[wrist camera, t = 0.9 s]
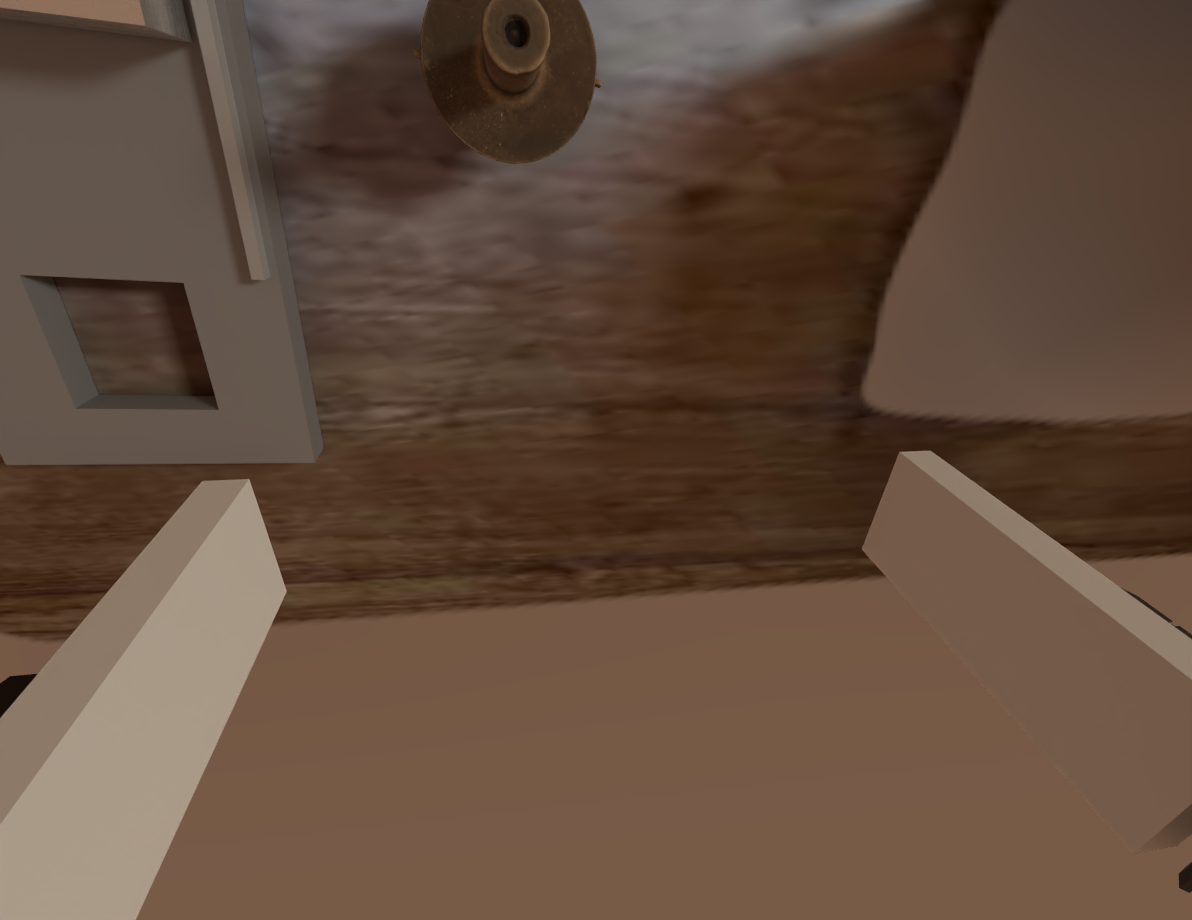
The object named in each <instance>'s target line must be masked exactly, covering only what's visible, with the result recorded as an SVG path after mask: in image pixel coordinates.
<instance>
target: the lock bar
mask: <svg viewBox="0 0 1192 920" xmlns="http://www.w3.org/2000/svg"><path fill="white" fill-rule="evenodd" d="M0 19H4V20H12V21H20V22H28V23H36V24H45V25H53V26H61V27H69V28H77V29H86V30H94V31H102V32H110V33H118V34H126V35H135V36H143V37H151V38H159V39H167V40H175V41H184V42H192V41H191V37H190V32H189V28H188V23H187V19H186V15H185V10H184V6H183V1H182V0H0Z"/></svg>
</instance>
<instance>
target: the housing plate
mask: <svg viewBox="0 0 1192 920" xmlns="http://www.w3.org/2000/svg"><path fill="white" fill-rule="evenodd" d="M182 1H183V6H184V10H185V15H186V19H187V23H188V28H189V32H190V37H191V41H192V42H184V41H175V40H167V39H159V38H151V37H143V36H135V35H126V34H118V33H110V32H102V31H94V30H86V29H77V28H69V27H61V26H53V25H45V24H36V23H28V22H20V21H12V20H4V19H0V454H1V456H2V458H3V460H4V462H5V464H6V465H94V464H224V463H315V462H316V460H317V458H318V457H319V455H320V453H321V451H322V450H323V448H324V446H323V441H322V435H321V430H320V425H319V419H318V414H317V408H316V403H315V397H314V392H313V386H312V381H311V375H310V370H309V364H308V359H307V353H306V348H305V342H304V337H303V331H302V326H301V320H300V315H299V309H298V304H297V299H296V293H295V288H294V282H293V277H292V271H291V266H290V260H289V255H288V249H287V244H286V238H285V233H284V227H283V222H282V216H281V211H280V205H279V200H278V194H277V189H276V184H275V178H274V173H273V167H272V162H271V156H270V151H269V145H268V140H267V134H266V129H265V123H264V118H263V112H262V107H261V101H260V96H259V90H258V85H257V79H256V74H255V68H254V63H253V58H252V52H251V47H250V41H249V36H248V30H247V25H246V19H245V14H244V8H243V3H242V0H182ZM53 277H73V278H94V279H115V280H135V281H156V282H177V283H184V287H185V290H186V294H187V297H188V301H189V305H190V308H191V312H192V315H193V319H194V323H195V326H196V330H197V333H198V337H199V340H200V344H201V348H202V351H203V355H204V358H205V362H206V365H207V369H208V373H209V376H210V380H211V383H212V387H213V391H214V394H215V396H182V395H107V394H98V392H97V389H96V386H95V384H94V381H93V379H92V376H91V374H90V371H89V369H88V366H87V363H86V361H85V358H84V356H83V353H82V351H81V348H80V346H79V343H78V341H77V338H76V335H75V333H74V330H73V328H72V325H71V323H70V320H69V318H68V315H67V312H66V310H65V307H64V305H63V302H62V300H61V297H60V295H59V292H58V289H57V287H56V284H55V282H54V279H53Z"/></svg>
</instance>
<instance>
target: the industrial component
mask: <svg viewBox="0 0 1192 920" xmlns="http://www.w3.org/2000/svg"><path fill="white" fill-rule="evenodd" d="M413 51H414V55H415V56H416V57H418V58H419V59H421V62H422V68H423V73H424V77H425V81H426V84H427V87H428V90H429V93H430V96H431V98H432V100H433V102H434V104H435V106H436V108H437V110H438V112H439V114H440V115H441V117H442V118H443V120H444V121H445V123H446V124H447V125H448V127H449V128H450V129H451V130H452V131H453V133H454V134H455V135H456V136H457V137H458V138H459V139H460V140H461V141H463V142H464V143H465V144H466V145H468V146H469V147H470V148H472V149H473V150H475V151H476V152H478V153H480V154H482V155H484V156H486V157H488V158H491V159H494V160H496V161H501V162H506V163H512V164H513V163H514V164H516V163H528V162H533V161H537V160H540V159H543V158H545V157H547V156H549V155H551V154H553V153H555V152H556V151H557V150H559V149H560V148H561V147H563V146H564V145H565V144H566V143H567V142H568V141H569V140H570V139H571V138H572V137H573V135H574V134H575V133H576V132H577V131H578V129H579V127H580V126H581V124H582V123H583V121H584V119H585V117H586V114H587V112H588V110H589V107H590V104H591V101H592V97H593V94H594V87H598V88H600V87H601V81H600V80H598V79H596V74H597V72H596V51H595V43H594V38H593V34H592V30H591V26H590V23H589V21H588V18H587V16H586V13H585V11H584V9H583V7H582V5H581V3H580V0H429V2H428V5H427V8H426V11H425V15H424V18H423V24H422V30H421V52H420V51H418V50H416V49H413Z"/></svg>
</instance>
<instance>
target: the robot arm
mask: <svg viewBox="0 0 1192 920" xmlns="http://www.w3.org/2000/svg"><path fill="white" fill-rule="evenodd" d="M862 550H863V551H864V552H865V553H866V554H867V556H868V557H869V558H870V559H871V560H872V561H873V562H874V563H875V565H876V566H877V567H878V568H879V569H880V570H881V571H882V572H883V574H884V575H885V576H886V577H887V578H888V579H889V580H890V581H891V583H892V584H893V585H894V586H895V587H896V588H897V589H898V590H899V591H900V593H901V594H902V595H903V596H904V597H905V598H906V599H907V601H908V602H909V603H910V604H911V605H912V606H913V607H914V608H915V610H916V611H917V612H918V613H919V614H920V615H921V616H922V617H923V619H924V620H925V621H926V622H927V623H928V624H929V625H930V626H931V627H932V629H933V630H934V631H935V632H936V633H937V634H938V635H939V637H940V638H941V639H942V640H943V641H944V642H945V643H946V644H947V645H948V647H949V648H950V649H951V650H952V651H953V652H954V653H955V654H956V656H957V657H958V658H959V659H960V660H961V661H962V662H963V663H964V664H965V666H966V667H967V668H968V669H969V670H970V671H971V672H972V674H973V675H974V676H975V677H976V678H977V679H978V680H979V681H980V683H981V684H982V685H983V686H984V687H985V688H986V689H987V690H988V692H989V693H990V694H991V695H992V696H993V697H994V698H995V699H996V701H997V702H998V703H999V704H1000V705H1001V706H1002V707H1003V708H1004V710H1005V711H1006V712H1007V713H1008V714H1009V715H1010V716H1011V717H1012V719H1013V720H1014V721H1015V722H1016V723H1017V724H1018V725H1019V726H1020V728H1021V729H1022V730H1023V731H1024V732H1025V733H1026V734H1027V735H1028V737H1029V738H1030V739H1031V740H1032V741H1033V742H1034V743H1035V744H1036V746H1037V747H1038V748H1039V749H1040V750H1041V751H1042V752H1043V753H1044V755H1045V756H1046V757H1047V758H1048V759H1049V760H1050V761H1051V762H1052V764H1053V765H1054V766H1055V767H1056V768H1057V769H1058V770H1059V771H1060V773H1061V774H1062V775H1063V776H1064V777H1065V778H1066V779H1067V780H1068V782H1069V783H1070V784H1071V785H1072V786H1073V787H1074V788H1075V789H1076V790H1077V791H1078V793H1079V794H1080V795H1081V796H1082V797H1083V798H1084V800H1085V801H1086V802H1087V803H1088V804H1089V805H1090V806H1091V807H1092V808H1093V810H1094V811H1095V812H1096V813H1097V814H1098V815H1099V816H1100V818H1101V819H1102V820H1103V821H1104V822H1105V823H1106V824H1107V825H1108V827H1109V828H1110V829H1111V830H1112V831H1113V832H1114V833H1115V834H1116V835H1117V837H1118V838H1119V839H1120V840H1121V841H1122V842H1123V843H1124V845H1125V846H1126V847H1127V848H1128V849H1129V850H1130V851H1131V852H1132V854H1137V853H1142V852H1147V851H1153V850H1157V849H1163V848H1168V847H1174V846H1177V845H1178V844H1180V843H1181V842H1182V841H1183V840H1185V839H1186V838H1187V837H1188V836H1190V835H1191V834H1192V635H1191V634H1190V633H1188V632H1187V631H1186V630H1184V629H1183V628H1181V627H1180V626H1174V625H1173V624H1172V620H1170V619H1169V618H1167V617H1166V616H1165V615H1163V614H1162V613H1160V612H1159V611H1158V610H1156V609H1155V608H1154V607H1152V606H1151V605H1149V604H1148V603H1147V602H1145V601H1144V600H1142V599H1141V598H1140V597H1138V596H1136V595H1134V594H1132V593H1130V592H1128V591H1126V590H1124V589H1123V588H1121V587H1119V586H1117V585H1116V584H1114V583H1113V582H1112V581H1110V580H1109V579H1107V578H1106V577H1105V576H1103V575H1102V574H1101V573H1099V572H1098V571H1096V570H1095V569H1094V568H1092V567H1091V566H1089V565H1088V564H1087V563H1085V562H1084V561H1082V560H1081V559H1080V558H1078V557H1077V556H1076V555H1074V554H1073V553H1071V552H1070V551H1069V550H1067V549H1066V548H1064V547H1063V546H1062V545H1060V544H1059V543H1058V542H1056V541H1055V540H1053V539H1052V538H1051V537H1049V536H1048V535H1046V534H1045V533H1044V532H1042V531H1041V530H1040V529H1038V528H1037V527H1035V526H1034V525H1033V524H1031V523H1030V522H1028V521H1027V520H1026V519H1024V518H1023V517H1021V516H1020V515H1019V514H1017V513H1016V512H1015V511H1013V510H1012V509H1010V508H1009V507H1008V506H1006V505H1005V504H1003V503H1002V502H1001V501H999V500H998V499H997V498H995V497H994V496H992V495H991V494H990V493H988V492H987V491H985V490H984V489H983V488H981V487H980V486H978V485H977V484H976V483H974V482H973V481H972V480H970V479H969V478H967V477H966V476H965V475H963V474H962V473H960V472H959V471H958V470H956V469H955V468H954V467H952V466H951V465H949V464H948V463H947V462H945V461H944V460H942V459H941V458H940V457H938V456H937V455H935V454H934V453H933V452H931V451H914V452H899V455H898V457H897V460H896V463H895V465H894V468H893V470H892V473H891V475H890V478H889V481H888V483H887V486H886V488H885V491H884V493H883V496H882V499H881V501H880V504H879V506H878V509H877V511H876V514H875V517H874V519H873V522H872V524H871V527H870V529H869V532H868V535H867V537H866V540H865V542H864V545H863V548H862ZM286 592H287V591H286V588H285V585H284V582H283V579H282V576H281V573H280V570H279V567H278V564H277V561H276V558H275V555H274V552H273V549H272V546H271V543H270V540H269V537H268V534H267V531H266V528H265V525H264V522H263V519H262V516H261V513H260V510H259V507H258V504H257V501H256V498H255V495H254V492H253V489H252V486H251V483H250V480H249V479H241V480H217V481H202V482H201V483H200V484H199V486H198V487H197V488H196V489H195V490H194V491H193V493H192V494H191V495H190V496H189V497H188V498H187V500H186V501H185V502H184V503H183V504H182V506H181V507H180V508H179V509H178V510H177V511H176V513H175V514H174V515H173V516H172V517H171V518H170V520H169V521H168V522H167V523H166V524H165V525H164V527H163V528H162V529H161V530H160V531H159V533H158V534H157V535H156V536H155V537H154V538H153V540H152V541H151V542H150V543H149V544H148V545H147V547H146V548H145V549H144V550H143V551H142V552H141V554H140V555H139V556H138V557H137V558H136V559H135V561H134V562H133V563H132V564H131V565H130V567H129V568H128V569H127V570H126V571H125V572H124V574H123V575H122V576H121V577H120V578H119V579H118V581H117V582H116V583H115V584H114V585H113V586H112V588H111V589H110V590H109V591H108V592H107V593H106V595H105V596H104V597H103V598H102V599H101V601H100V602H99V603H98V604H97V605H96V606H95V608H94V609H93V610H92V611H91V612H90V613H89V615H88V616H87V617H86V618H85V619H84V620H83V622H82V623H81V624H80V625H79V626H78V628H77V629H76V630H75V631H74V632H73V633H72V635H71V636H70V637H69V638H68V639H67V640H66V642H65V643H64V644H63V645H62V646H61V648H60V649H59V650H58V651H57V652H56V653H55V654H54V656H53V657H52V658H51V659H50V661H49V662H48V663H47V664H46V665H45V666H44V667H43V669H42V670H41V671H40V672H39V673H38V674H31V675H20V676H10V677H9V678H7V679H6V680H5V681H3V682H2V683H0V920H136V918H137V915H138V913H139V911H140V908H141V907H142V905H143V902H144V900H145V898H146V896H147V894H148V891H149V889H150V887H151V885H152V883H153V881H154V878H155V876H156V874H157V872H158V870H159V868H160V865H161V863H162V861H163V859H164V856H165V855H166V852H167V850H168V848H169V846H170V844H171V841H172V839H173V837H174V835H175V833H176V831H177V828H178V826H179V824H180V822H181V820H182V817H183V815H184V813H185V811H186V809H187V806H188V804H189V802H190V800H191V798H192V796H193V793H194V791H195V789H196V787H197V785H198V783H199V780H200V778H201V776H202V774H203V772H204V770H205V767H206V765H207V763H208V761H209V759H210V757H211V754H212V752H213V750H214V748H215V746H216V744H217V741H218V739H219V737H220V735H221V733H222V731H223V728H224V726H225V724H226V722H227V720H228V718H229V715H230V713H231V711H232V709H233V707H234V705H235V702H236V700H237V698H238V696H239V694H240V692H241V689H242V687H243V685H244V683H245V681H246V678H247V676H248V674H249V672H250V670H251V668H252V665H253V663H254V661H255V659H256V657H257V654H258V652H259V650H260V648H261V646H262V644H263V641H264V639H265V637H266V635H267V633H268V631H269V628H270V626H271V624H272V622H273V620H274V618H275V615H276V613H277V611H278V609H279V607H280V605H281V602H282V600H283V598H284V596H285V594H286ZM1179 888H1180V889H1183V890H1185V891H1187V892H1189V893H1190V892H1191V891H1192V863H1190V864H1189V865H1188V866H1186V867H1185V868H1184V869H1183V870H1182V871H1181V872H1180V873H1179Z"/></svg>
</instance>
